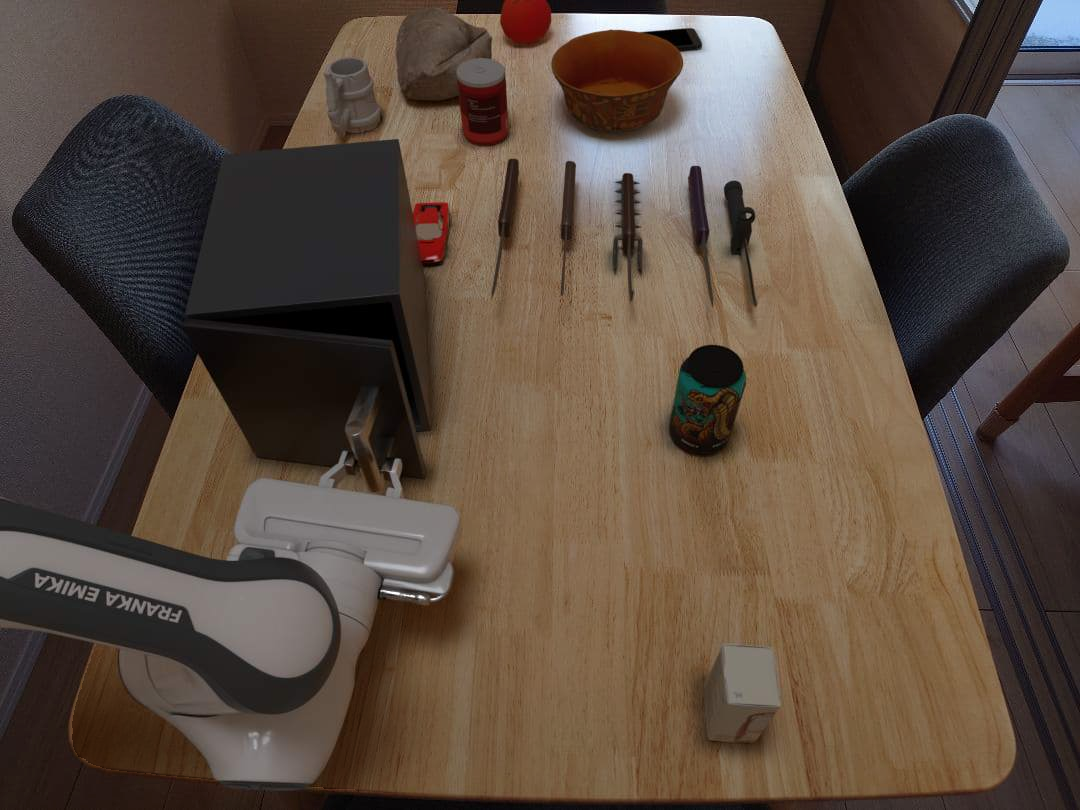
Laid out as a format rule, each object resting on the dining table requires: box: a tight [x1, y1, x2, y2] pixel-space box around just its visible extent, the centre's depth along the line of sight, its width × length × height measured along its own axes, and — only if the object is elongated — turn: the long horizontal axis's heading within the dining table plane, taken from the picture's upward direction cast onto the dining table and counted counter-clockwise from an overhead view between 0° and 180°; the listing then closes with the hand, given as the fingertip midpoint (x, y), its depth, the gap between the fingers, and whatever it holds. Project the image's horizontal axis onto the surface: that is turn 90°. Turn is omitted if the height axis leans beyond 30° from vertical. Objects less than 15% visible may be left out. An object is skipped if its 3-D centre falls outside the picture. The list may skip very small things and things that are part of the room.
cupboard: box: [184, 138, 432, 433], centre depth 88 cm, size 26×20×22 cm
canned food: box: [456, 58, 509, 147], centre depth 122 cm, size 8×8×11 cm
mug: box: [323, 56, 382, 138], centre depth 124 cm, size 8×12×12 cm, turn 163°
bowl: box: [550, 29, 684, 132], centre depth 125 cm, size 21×21×10 cm
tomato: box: [499, 0, 552, 44], centre depth 143 cm, size 9×10×8 cm
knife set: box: [490, 158, 758, 308], centre depth 104 cm, size 35×33×8 cm
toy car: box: [412, 201, 451, 266], centre depth 109 cm, size 12×5×3 cm, turn 1°
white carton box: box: [703, 642, 782, 744], centre depth 65 cm, size 5×4×10 cm
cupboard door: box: [181, 317, 427, 494], centre depth 76 cm, size 7×20×22 cm, turn 81°
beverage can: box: [668, 344, 747, 455], centre depth 83 cm, size 7×7×12 cm
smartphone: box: [641, 27, 703, 51], centre depth 143 cm, size 7×15×1 cm, turn 97°
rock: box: [395, 6, 493, 102], centre depth 132 cm, size 16×17×15 cm
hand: (373, 457), depth 74 cm, fingers open, 3 cm apart
